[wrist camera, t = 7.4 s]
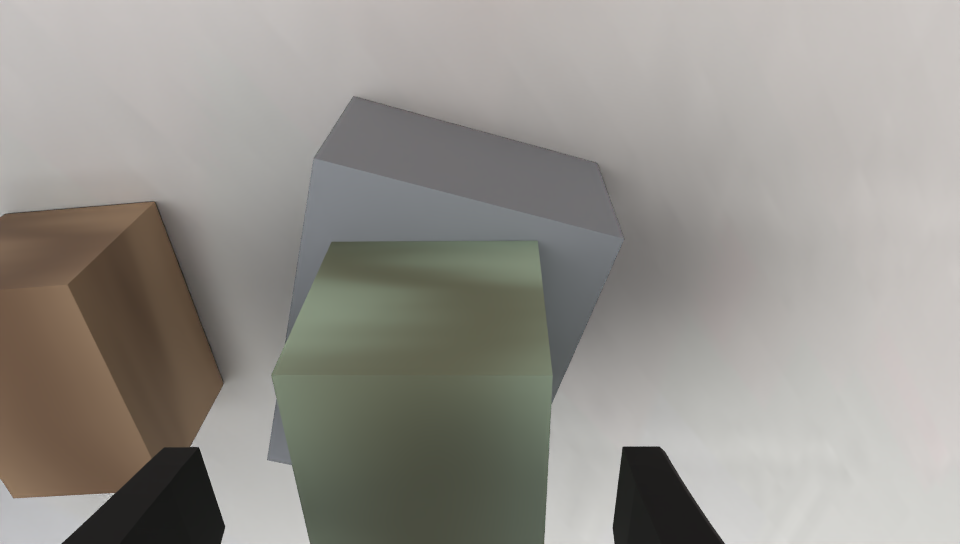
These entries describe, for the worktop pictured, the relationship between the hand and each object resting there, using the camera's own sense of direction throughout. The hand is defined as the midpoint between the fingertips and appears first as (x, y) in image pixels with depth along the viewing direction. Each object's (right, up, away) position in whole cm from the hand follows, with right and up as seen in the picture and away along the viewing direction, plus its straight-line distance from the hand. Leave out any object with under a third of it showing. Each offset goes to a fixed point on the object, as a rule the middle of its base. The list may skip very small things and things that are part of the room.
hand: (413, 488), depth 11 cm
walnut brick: (-9, +3, +7) cm, 12 cm away
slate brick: (0, +4, +6) cm, 7 cm away
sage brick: (0, +2, +3) cm, 3 cm away
